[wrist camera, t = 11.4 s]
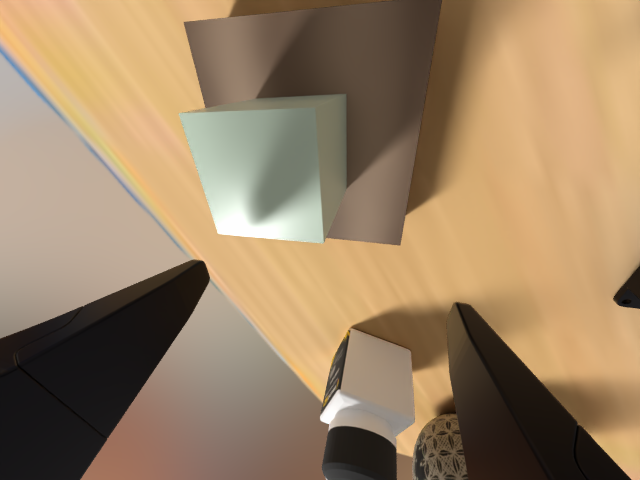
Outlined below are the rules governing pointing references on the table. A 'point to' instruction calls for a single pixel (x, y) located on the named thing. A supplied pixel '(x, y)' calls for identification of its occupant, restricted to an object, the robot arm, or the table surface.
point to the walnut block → (336, 89)
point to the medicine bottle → (366, 407)
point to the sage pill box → (272, 164)
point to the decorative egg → (439, 451)
